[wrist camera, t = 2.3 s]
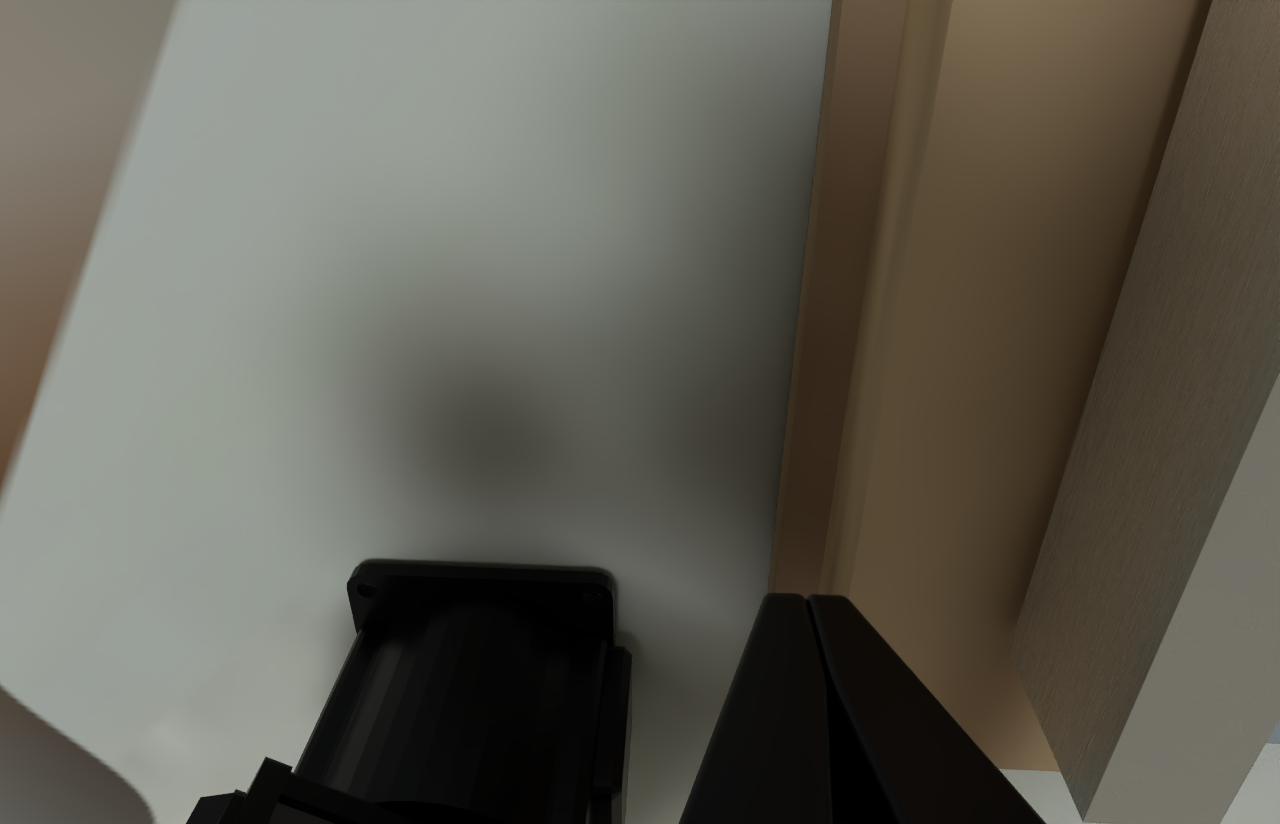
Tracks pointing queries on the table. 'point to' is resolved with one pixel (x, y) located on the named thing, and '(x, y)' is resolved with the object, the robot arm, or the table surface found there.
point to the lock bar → (1177, 476)
